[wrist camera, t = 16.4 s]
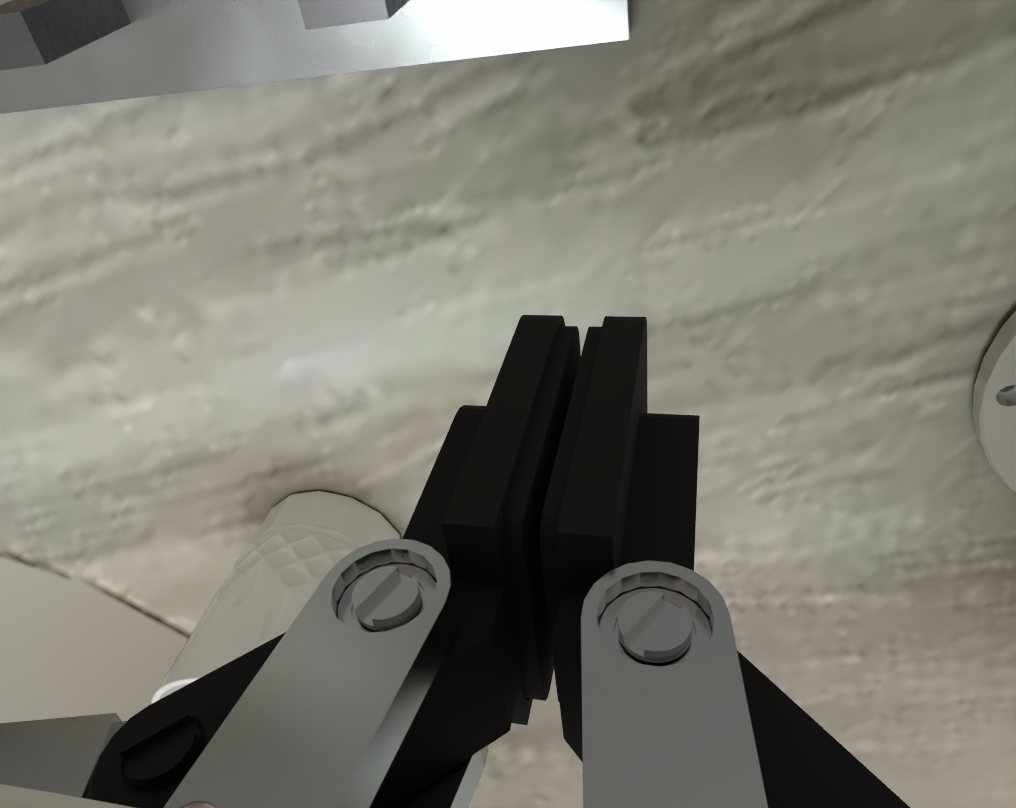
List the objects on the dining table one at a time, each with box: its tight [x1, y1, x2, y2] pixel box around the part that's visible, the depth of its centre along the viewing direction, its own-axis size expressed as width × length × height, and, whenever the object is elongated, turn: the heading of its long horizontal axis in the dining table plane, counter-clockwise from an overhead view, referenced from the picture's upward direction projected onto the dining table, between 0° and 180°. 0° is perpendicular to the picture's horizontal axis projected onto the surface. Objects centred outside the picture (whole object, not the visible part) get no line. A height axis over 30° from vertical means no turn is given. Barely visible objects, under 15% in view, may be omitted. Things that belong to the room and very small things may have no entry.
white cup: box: [151, 491, 400, 704], centre depth 34 cm, size 8×8×10 cm
